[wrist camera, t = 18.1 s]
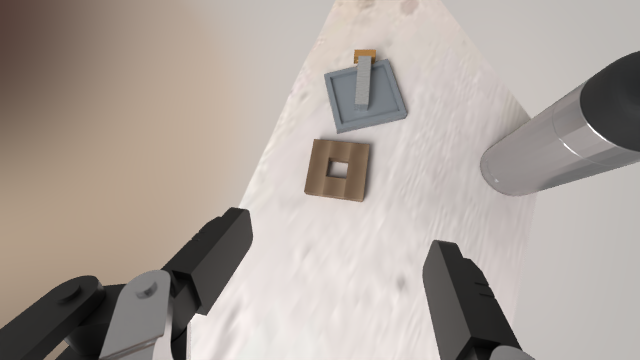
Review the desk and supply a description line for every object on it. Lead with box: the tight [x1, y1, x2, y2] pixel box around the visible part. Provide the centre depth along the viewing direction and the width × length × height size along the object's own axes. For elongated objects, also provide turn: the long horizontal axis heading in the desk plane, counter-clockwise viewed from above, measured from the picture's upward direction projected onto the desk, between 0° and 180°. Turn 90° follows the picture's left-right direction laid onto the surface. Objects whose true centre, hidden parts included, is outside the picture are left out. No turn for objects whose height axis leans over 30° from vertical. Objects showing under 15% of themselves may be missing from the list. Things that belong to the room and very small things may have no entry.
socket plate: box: [304, 139, 369, 202], centre depth 40 cm, size 10×10×2 cm
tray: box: [324, 59, 407, 134], centre depth 44 cm, size 13×13×2 cm
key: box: [354, 50, 376, 111], centre depth 43 cm, size 4×2×12 cm
